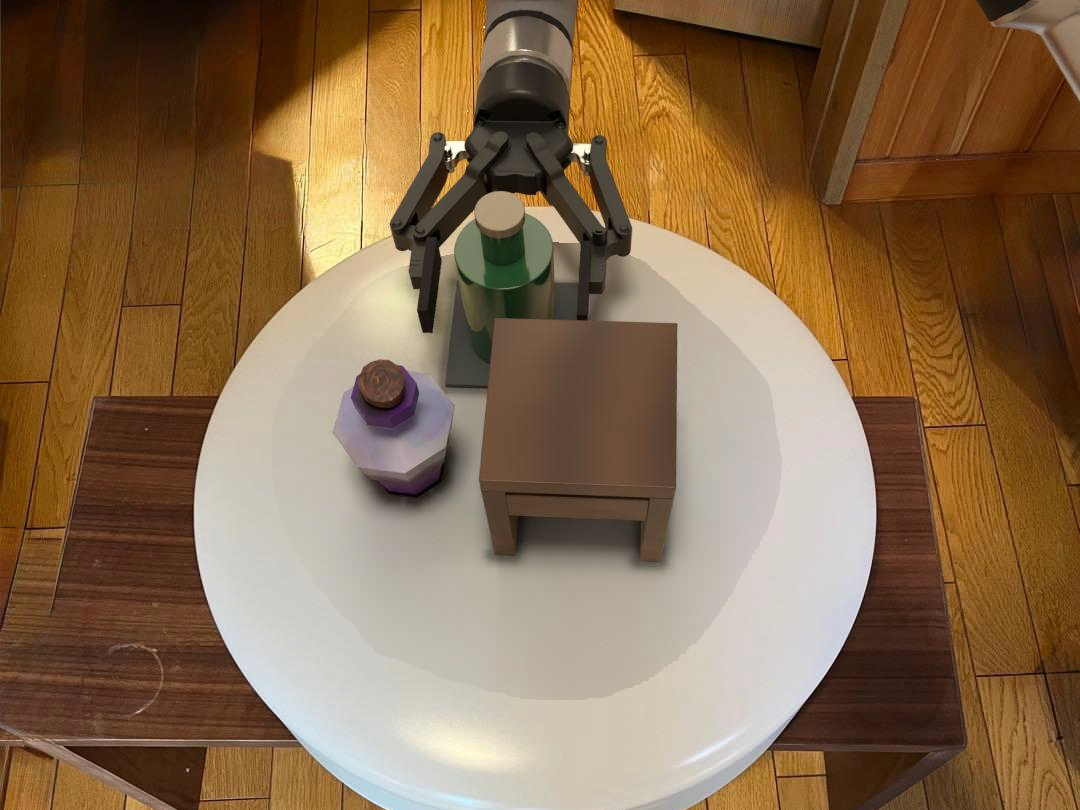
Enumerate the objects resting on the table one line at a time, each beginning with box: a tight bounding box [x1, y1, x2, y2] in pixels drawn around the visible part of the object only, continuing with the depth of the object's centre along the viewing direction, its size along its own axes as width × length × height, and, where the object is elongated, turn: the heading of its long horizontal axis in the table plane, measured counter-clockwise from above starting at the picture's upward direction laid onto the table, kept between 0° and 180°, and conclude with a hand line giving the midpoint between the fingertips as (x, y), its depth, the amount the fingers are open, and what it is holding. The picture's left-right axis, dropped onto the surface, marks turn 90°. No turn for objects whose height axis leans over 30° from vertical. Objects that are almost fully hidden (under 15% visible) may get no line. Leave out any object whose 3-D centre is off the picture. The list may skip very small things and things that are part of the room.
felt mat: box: [444, 279, 579, 389], centre depth 77 cm, size 10×10×1 cm
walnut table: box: [478, 318, 678, 562], centre depth 67 cm, size 12×12×12 cm
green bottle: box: [453, 191, 556, 364], centre depth 71 cm, size 7×7×14 cm
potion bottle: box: [332, 358, 456, 499], centre depth 68 cm, size 9×9×12 cm
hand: (503, 324), depth 69 cm, fingers open, 11 cm apart
